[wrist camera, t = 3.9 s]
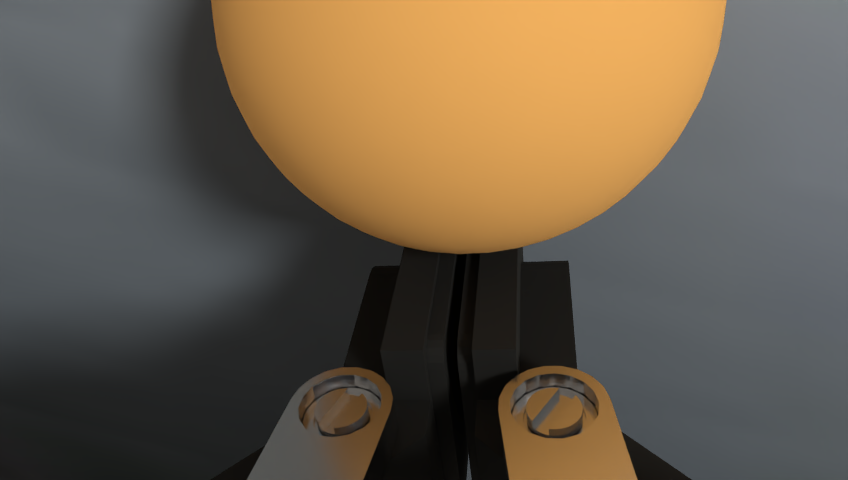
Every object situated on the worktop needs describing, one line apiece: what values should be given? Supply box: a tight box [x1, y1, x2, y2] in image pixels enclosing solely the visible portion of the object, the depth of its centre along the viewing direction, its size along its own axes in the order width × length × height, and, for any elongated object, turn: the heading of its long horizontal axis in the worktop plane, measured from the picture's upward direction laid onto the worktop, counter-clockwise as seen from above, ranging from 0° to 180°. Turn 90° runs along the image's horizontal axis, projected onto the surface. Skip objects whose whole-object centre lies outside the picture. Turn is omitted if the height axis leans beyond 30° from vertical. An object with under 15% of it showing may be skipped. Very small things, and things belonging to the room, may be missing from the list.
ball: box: [211, 0, 726, 254], centre depth 9 cm, size 6×6×6 cm
